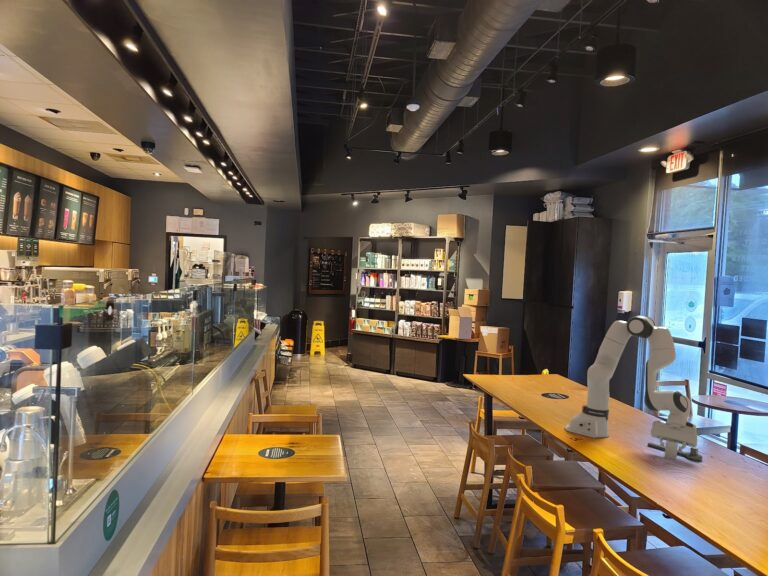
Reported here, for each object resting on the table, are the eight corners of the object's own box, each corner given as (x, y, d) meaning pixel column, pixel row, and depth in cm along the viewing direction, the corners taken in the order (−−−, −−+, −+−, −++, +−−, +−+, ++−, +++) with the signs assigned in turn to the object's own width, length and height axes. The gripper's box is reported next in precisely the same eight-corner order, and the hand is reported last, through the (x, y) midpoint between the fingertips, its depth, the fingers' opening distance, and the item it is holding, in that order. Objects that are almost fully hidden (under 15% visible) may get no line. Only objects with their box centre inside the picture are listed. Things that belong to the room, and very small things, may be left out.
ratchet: (704, 459, 255) (705, 448, 255) (699, 462, 250) (700, 451, 250) (651, 444, 273) (652, 434, 273) (645, 446, 268) (646, 436, 268)
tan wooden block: (664, 457, 254) (666, 441, 253) (664, 454, 258) (666, 438, 258) (676, 459, 251) (677, 443, 251) (676, 456, 256) (677, 440, 255)
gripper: (653, 416, 266) (646, 439, 258) (699, 426, 253) (694, 450, 246) (654, 423, 269) (647, 446, 262) (699, 433, 257) (694, 457, 250)
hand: (670, 448), depth 254 cm, fingers open, 6 cm apart
